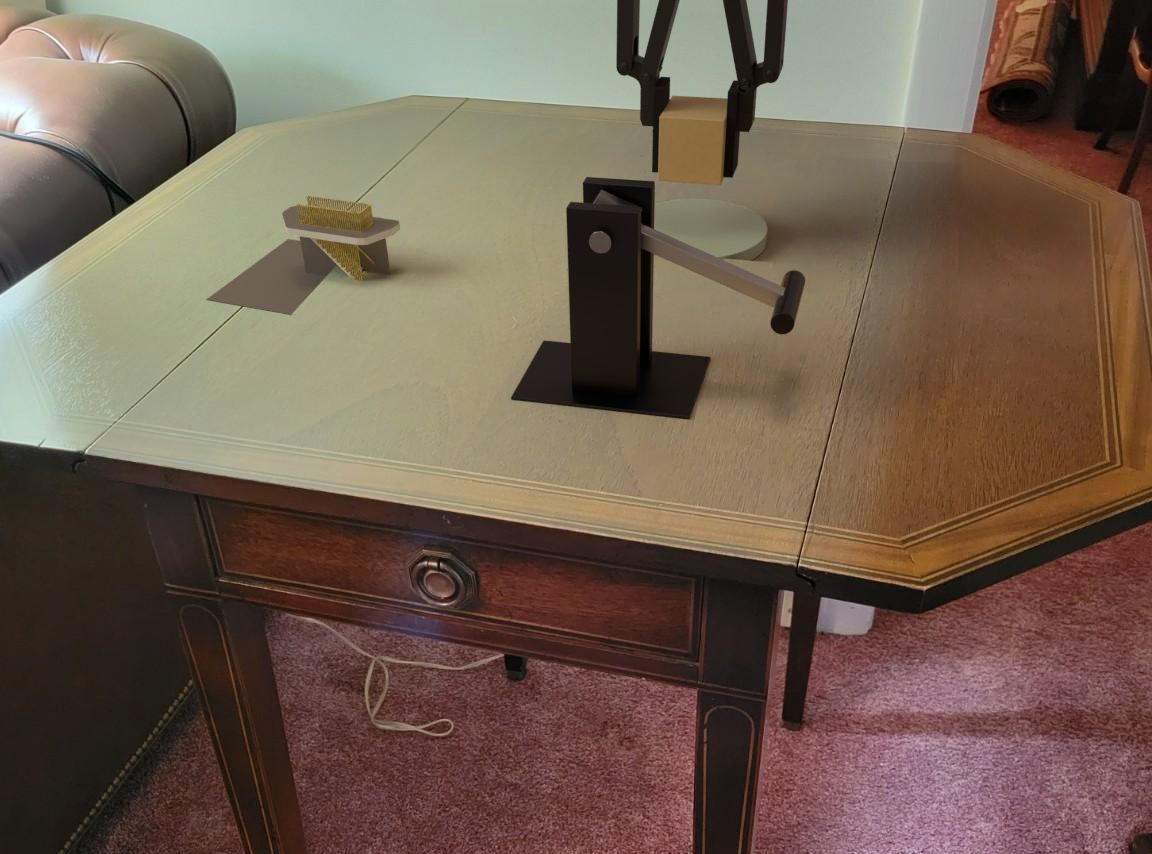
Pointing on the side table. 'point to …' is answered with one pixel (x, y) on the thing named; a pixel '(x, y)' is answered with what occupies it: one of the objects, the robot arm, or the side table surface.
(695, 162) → the cake slice
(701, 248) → the plate
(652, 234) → the blade
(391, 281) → the side table surface
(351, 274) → the platform
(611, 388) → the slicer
